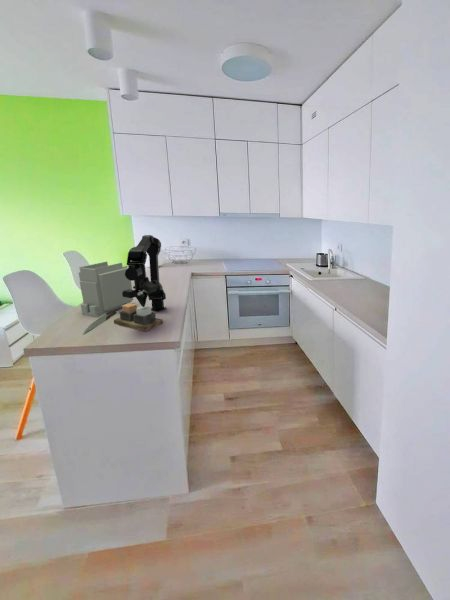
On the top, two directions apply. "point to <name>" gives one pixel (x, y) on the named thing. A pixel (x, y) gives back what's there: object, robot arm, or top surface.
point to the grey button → (143, 311)
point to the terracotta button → (129, 308)
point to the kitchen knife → (98, 321)
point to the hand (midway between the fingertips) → (143, 306)
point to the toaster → (103, 288)
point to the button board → (138, 321)
